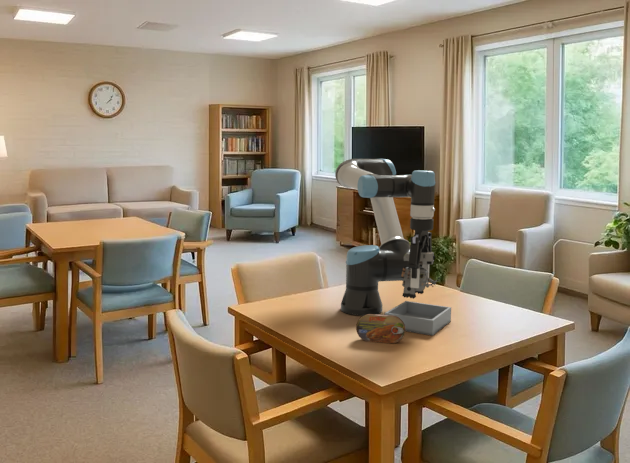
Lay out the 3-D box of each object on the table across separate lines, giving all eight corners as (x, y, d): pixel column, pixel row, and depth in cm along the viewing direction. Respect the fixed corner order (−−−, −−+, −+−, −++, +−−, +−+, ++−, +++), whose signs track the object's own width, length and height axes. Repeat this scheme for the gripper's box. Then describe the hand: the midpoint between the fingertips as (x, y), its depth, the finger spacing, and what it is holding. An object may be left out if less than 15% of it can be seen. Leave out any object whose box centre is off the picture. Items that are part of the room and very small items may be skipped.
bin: (384, 327, 208) (384, 312, 208) (405, 314, 224) (405, 300, 224) (432, 335, 200) (433, 320, 200) (450, 321, 216) (451, 307, 216)
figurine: (431, 301, 204) (433, 255, 202) (398, 296, 210) (399, 252, 207) (440, 295, 212) (441, 251, 210) (407, 291, 217) (409, 248, 215)
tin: (355, 340, 195) (356, 314, 194) (357, 337, 198) (357, 311, 197) (404, 344, 191) (405, 318, 190) (405, 341, 194) (406, 315, 193)
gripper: (421, 221, 196) (419, 292, 199) (443, 215, 214) (440, 280, 218) (398, 220, 200) (396, 289, 203) (422, 213, 218) (420, 277, 221)
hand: (419, 284), depth 210 cm, fingers closed on figurine, 9 cm apart
